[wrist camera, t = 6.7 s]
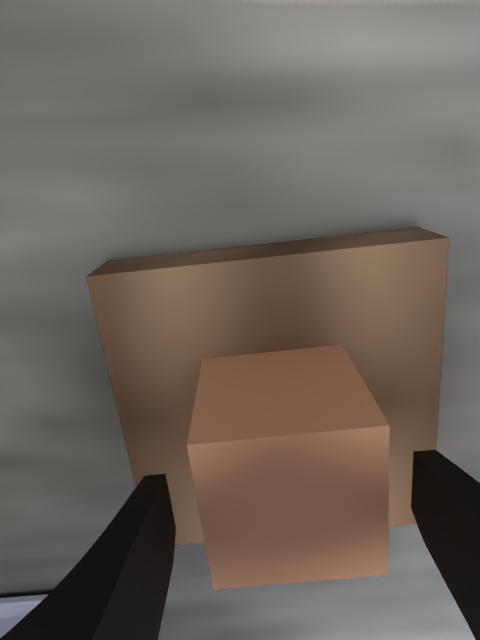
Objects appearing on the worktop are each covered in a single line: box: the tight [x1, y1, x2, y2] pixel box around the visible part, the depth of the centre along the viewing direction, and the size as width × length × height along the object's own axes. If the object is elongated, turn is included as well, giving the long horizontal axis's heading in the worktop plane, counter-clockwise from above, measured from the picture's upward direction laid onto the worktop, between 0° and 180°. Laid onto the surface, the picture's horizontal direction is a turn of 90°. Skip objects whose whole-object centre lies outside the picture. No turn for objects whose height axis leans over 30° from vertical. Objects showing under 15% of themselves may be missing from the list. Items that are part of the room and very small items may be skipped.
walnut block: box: [86, 228, 449, 545], centre depth 17 cm, size 12×12×3 cm
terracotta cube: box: [187, 345, 390, 590], centre depth 14 cm, size 5×5×5 cm
